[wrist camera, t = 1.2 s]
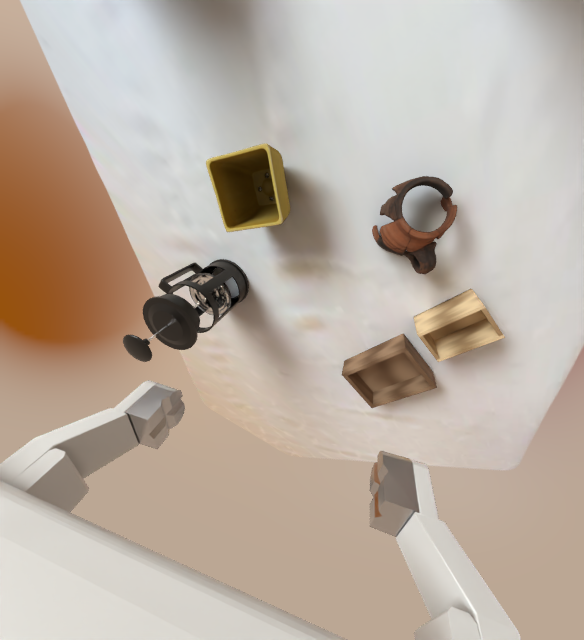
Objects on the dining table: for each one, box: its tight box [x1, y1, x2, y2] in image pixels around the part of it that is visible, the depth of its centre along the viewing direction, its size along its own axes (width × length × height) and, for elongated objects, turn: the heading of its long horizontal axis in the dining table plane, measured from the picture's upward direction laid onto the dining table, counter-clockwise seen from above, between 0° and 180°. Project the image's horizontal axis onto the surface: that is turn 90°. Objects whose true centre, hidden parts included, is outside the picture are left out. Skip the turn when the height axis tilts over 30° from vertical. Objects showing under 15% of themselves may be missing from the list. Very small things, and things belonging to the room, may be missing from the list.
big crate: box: [342, 334, 437, 408], centre depth 47 cm, size 13×10×4 cm
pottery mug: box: [372, 176, 457, 274], centre depth 33 cm, size 12×10×8 cm
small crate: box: [414, 289, 505, 362], centre depth 38 cm, size 9×6×6 cm, turn 131°
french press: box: [123, 259, 249, 362], centre depth 40 cm, size 12×9×23 cm
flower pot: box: [206, 144, 290, 232], centre depth 35 cm, size 9×9×9 cm
